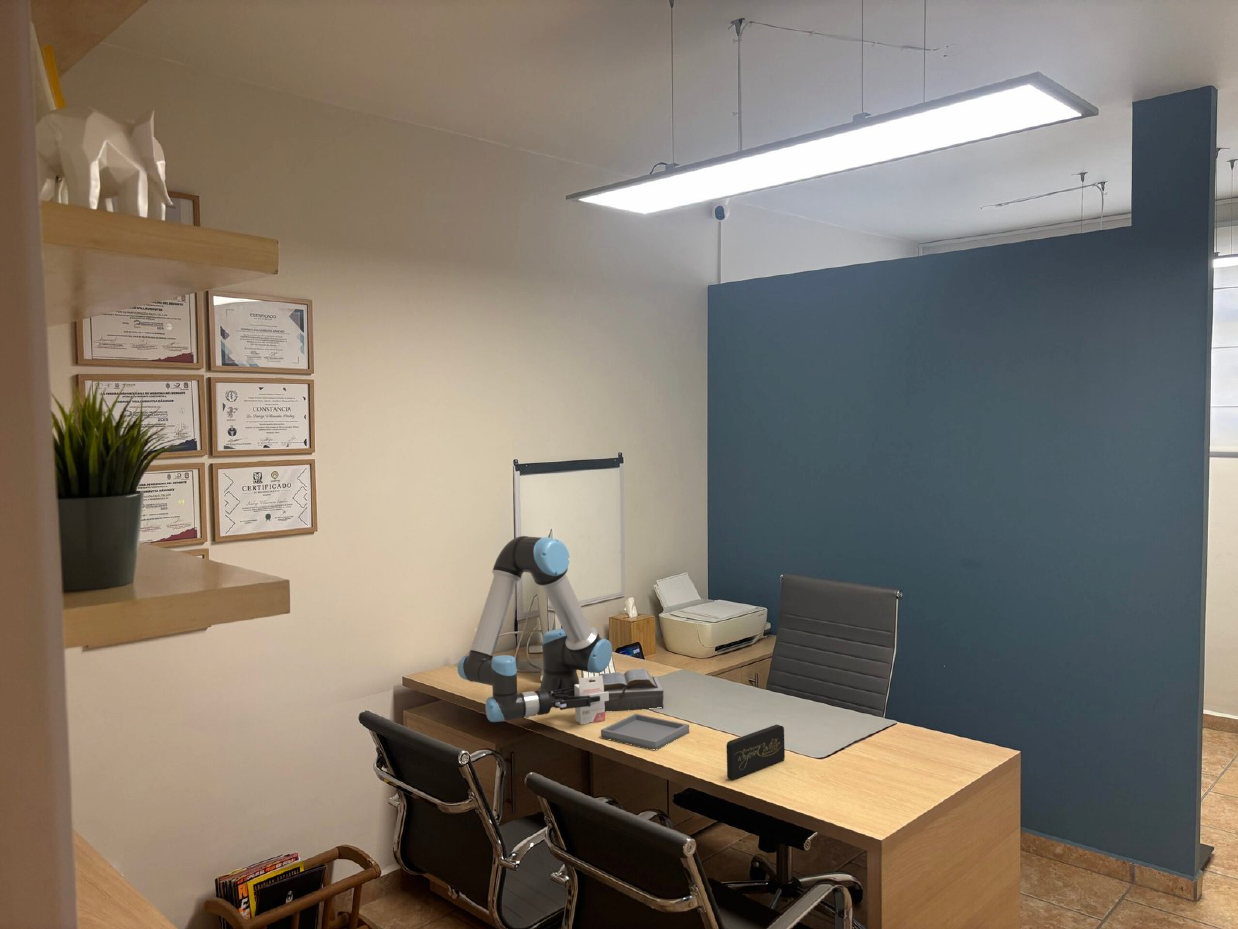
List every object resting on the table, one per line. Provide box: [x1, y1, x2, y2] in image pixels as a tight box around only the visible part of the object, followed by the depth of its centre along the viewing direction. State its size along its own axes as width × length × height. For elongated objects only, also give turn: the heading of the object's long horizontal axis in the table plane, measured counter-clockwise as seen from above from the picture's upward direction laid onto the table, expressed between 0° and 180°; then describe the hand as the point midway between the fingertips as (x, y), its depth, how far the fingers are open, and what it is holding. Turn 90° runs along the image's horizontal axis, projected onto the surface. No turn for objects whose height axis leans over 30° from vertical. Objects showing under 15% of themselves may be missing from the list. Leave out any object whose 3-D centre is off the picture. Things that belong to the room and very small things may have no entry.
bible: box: [588, 668, 665, 713], centre depth 303 cm, size 23×27×10 cm
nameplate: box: [726, 724, 786, 781], centre depth 240 cm, size 21×2×10 cm, turn 129°
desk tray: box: [600, 713, 690, 751], centre depth 269 cm, size 18×20×2 cm
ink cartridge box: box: [574, 674, 606, 725], centre depth 285 cm, size 9×5×15 cm, turn 112°
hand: (603, 692), depth 286 cm, fingers open, 8 cm apart
